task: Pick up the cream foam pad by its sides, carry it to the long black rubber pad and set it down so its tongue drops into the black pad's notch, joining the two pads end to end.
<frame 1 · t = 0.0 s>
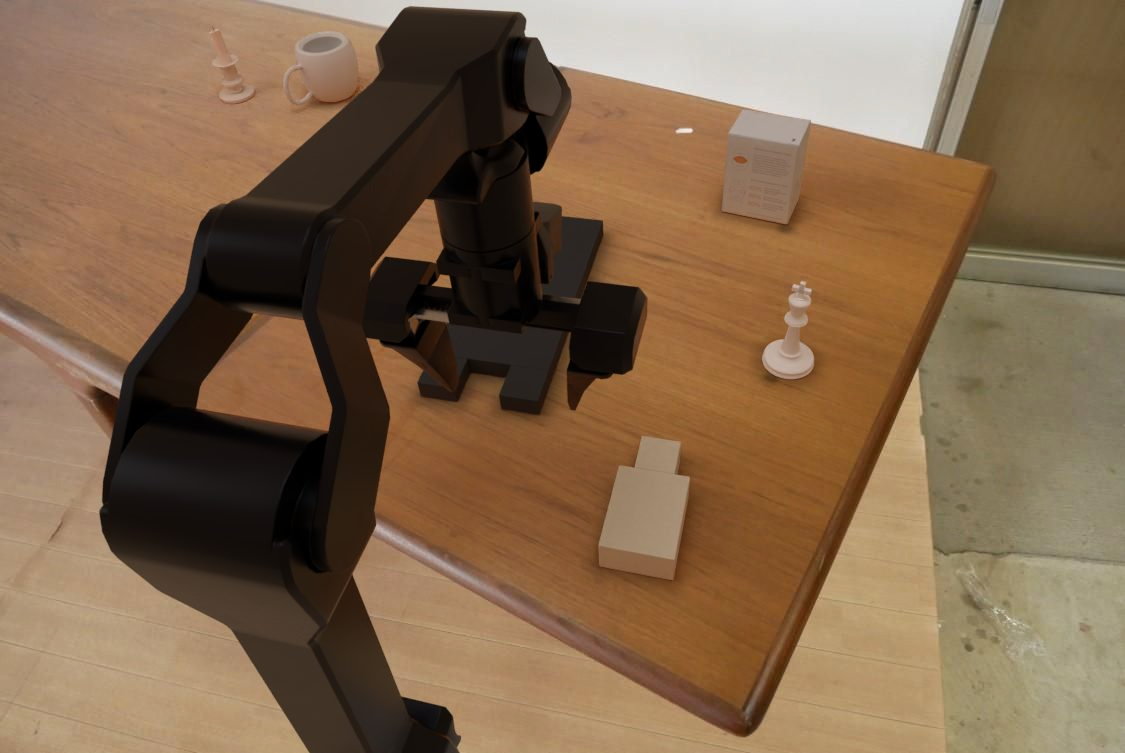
hand: (513, 396, 62), 14 cm above the table, tool pointing down, fingers open, 9 cm apart
chess piece: (787, 362, 82), on the table
socket pad: (543, 252, 96), on the table
small box: (759, 207, 99), on the table
candle: (238, 96, 126), on the table
foam pad: (645, 531, 70), on the table
mug: (326, 99, 123), on the table
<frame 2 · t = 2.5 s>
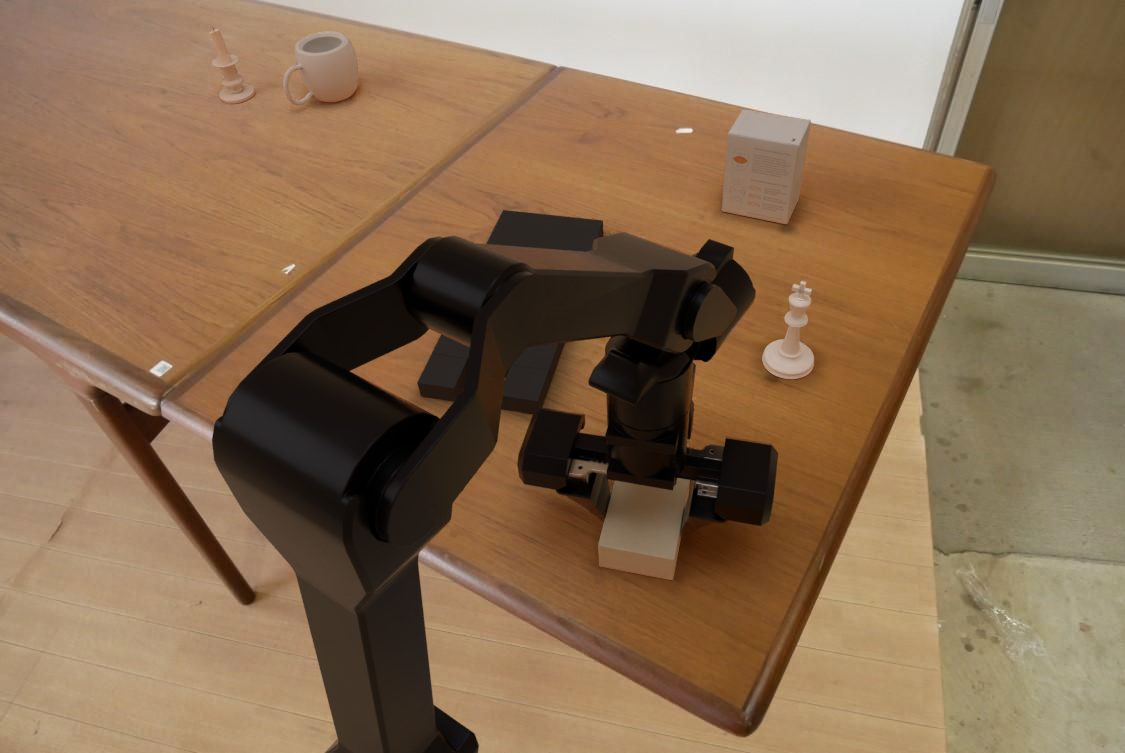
hand: (645, 525, 69), 1 cm above the table, tool pointing down, fingers closed on foam pad, 6 cm apart
foam pad: (644, 531, 70), on the table, touching gripper
everything else where it was.
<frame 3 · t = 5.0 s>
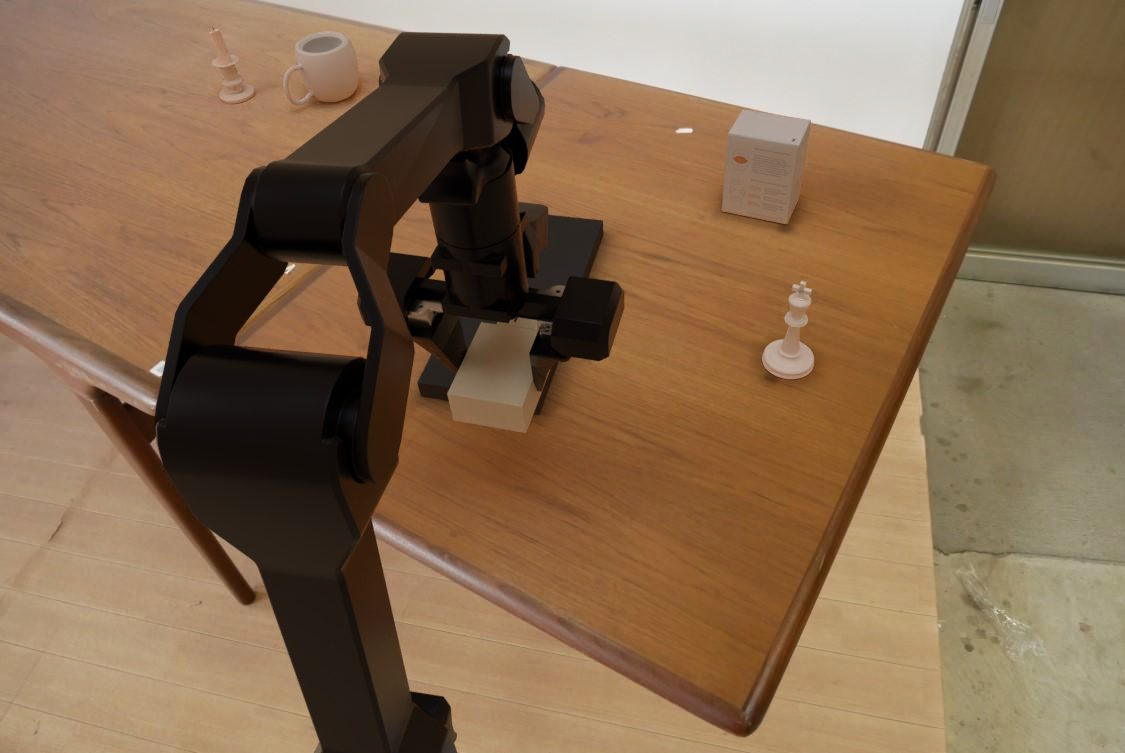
hand: (503, 381, 67), 11 cm above the table, tool pointing down, fingers closed on foam pad, 6 cm apart
foam pad: (505, 389, 68), point 10 cm above the table, touching gripper
everything else where it was.
when the fingers open (1 cm above the table, at t = 7.6 s): foam pad stays where it is, on the table.
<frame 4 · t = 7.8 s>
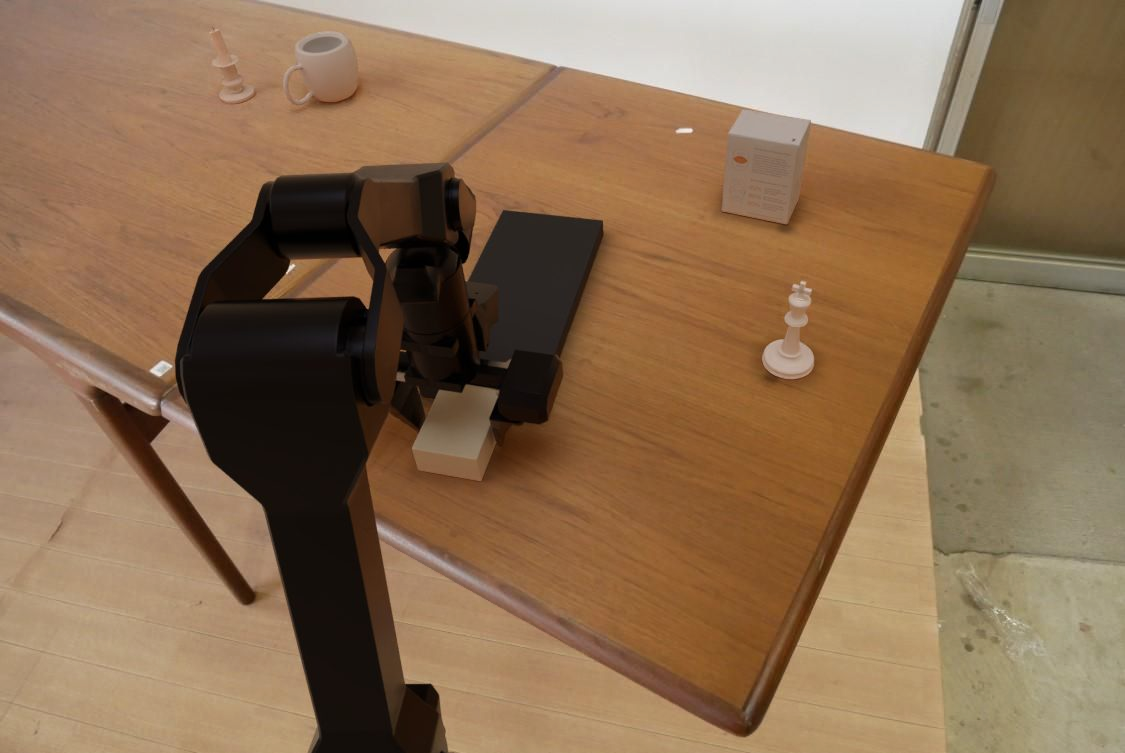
hand: (462, 435, 77), 1 cm above the table, tool pointing down, fingers open, 7 cm apart
foam pad: (463, 441, 77), on the table
everything else where it was.
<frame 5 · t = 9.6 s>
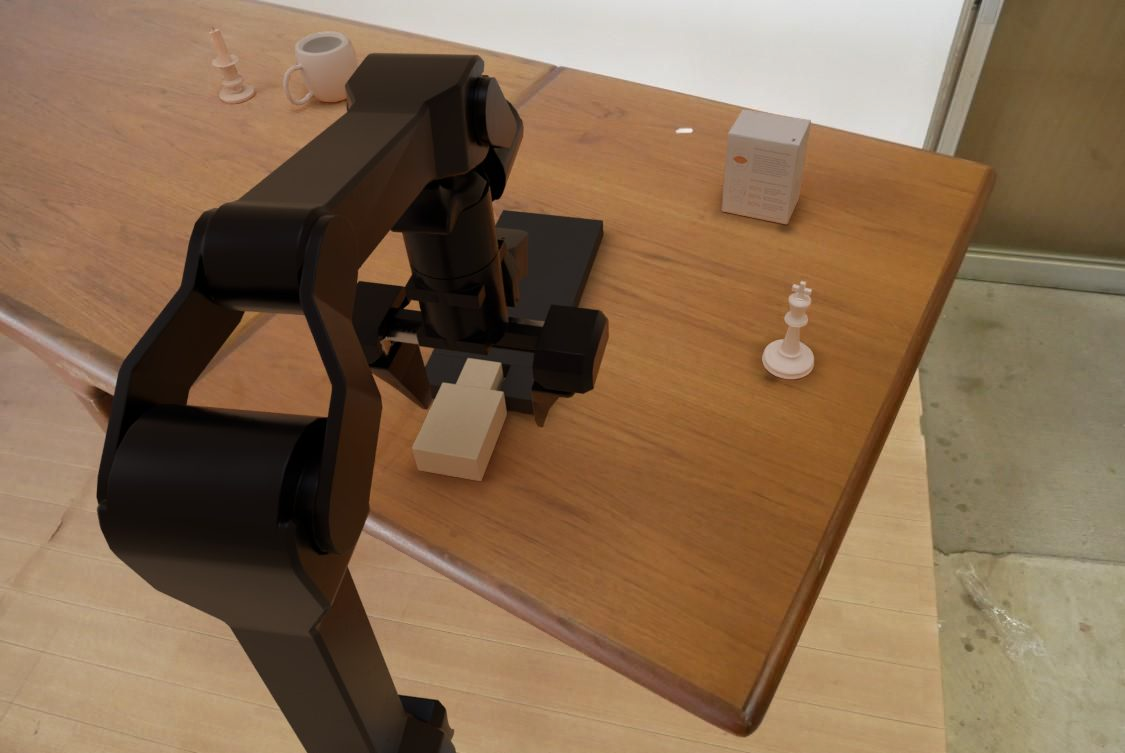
hand: (484, 413, 64), 12 cm above the table, tool pointing down, fingers open, 9 cm apart
nothing on the table moved.
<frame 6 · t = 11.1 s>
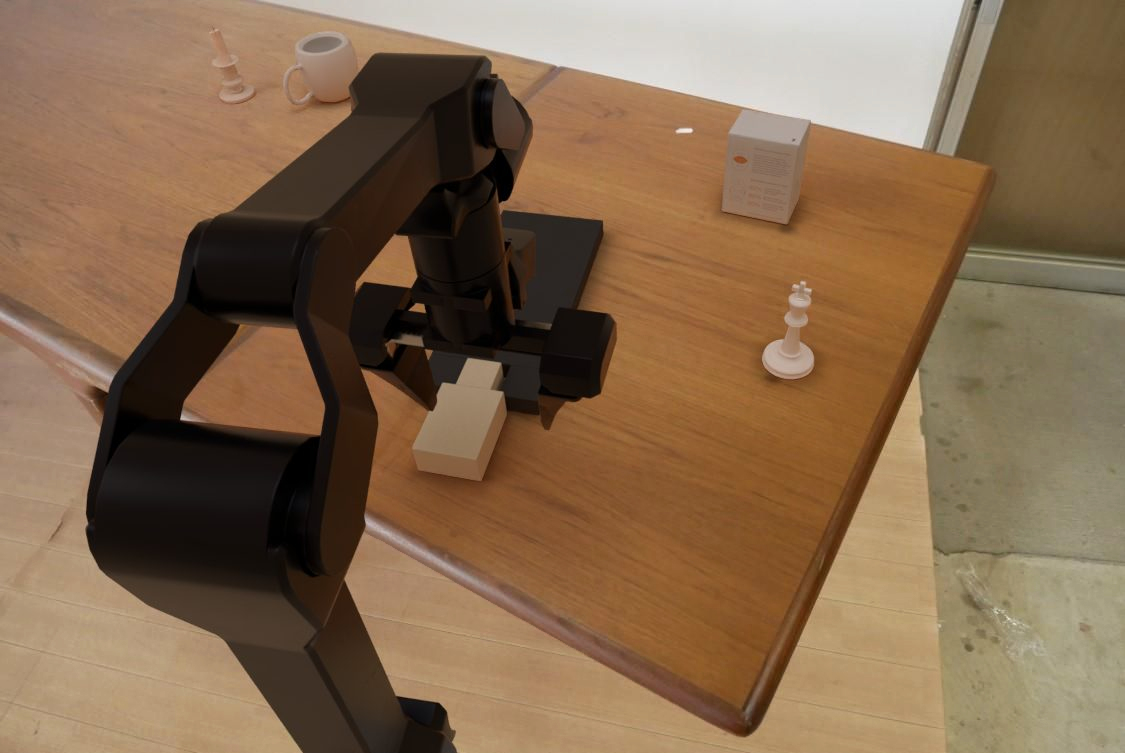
hand: (489, 415, 63), 12 cm above the table, tool pointing down, fingers open, 9 cm apart
nothing on the table moved.
at the end: foam pad 0.0 cm from the target spot on the table beside the socket pad, on the table; foam pad tilted 0°; the gripper is holding nothing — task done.
